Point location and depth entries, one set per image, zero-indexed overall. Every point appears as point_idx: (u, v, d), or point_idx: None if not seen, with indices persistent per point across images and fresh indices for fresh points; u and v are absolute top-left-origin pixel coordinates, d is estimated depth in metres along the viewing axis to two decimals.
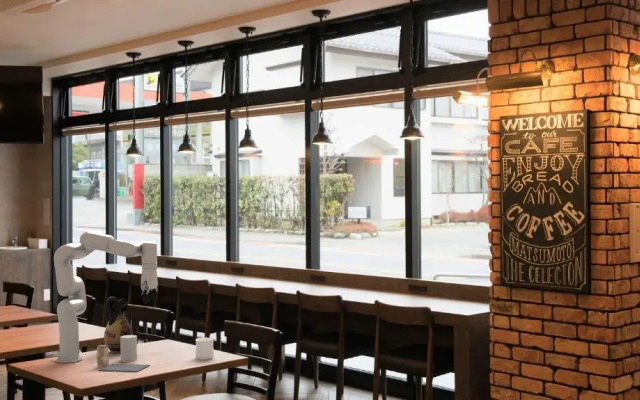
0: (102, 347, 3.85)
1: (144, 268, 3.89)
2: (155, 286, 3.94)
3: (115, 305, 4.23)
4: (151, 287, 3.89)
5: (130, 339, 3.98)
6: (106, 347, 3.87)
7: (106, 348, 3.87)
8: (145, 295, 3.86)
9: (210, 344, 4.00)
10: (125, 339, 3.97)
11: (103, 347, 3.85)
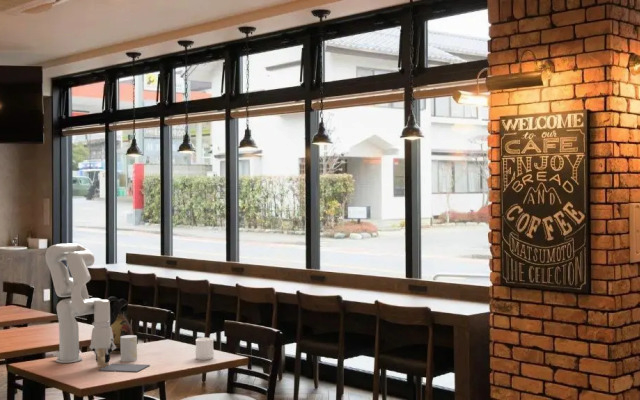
0: None
1: (107, 326, 3.85)
2: None
3: (115, 305, 4.23)
4: None
5: (130, 339, 3.98)
6: None
7: None
8: (109, 355, 3.87)
9: (210, 344, 4.00)
10: (125, 339, 3.97)
11: None
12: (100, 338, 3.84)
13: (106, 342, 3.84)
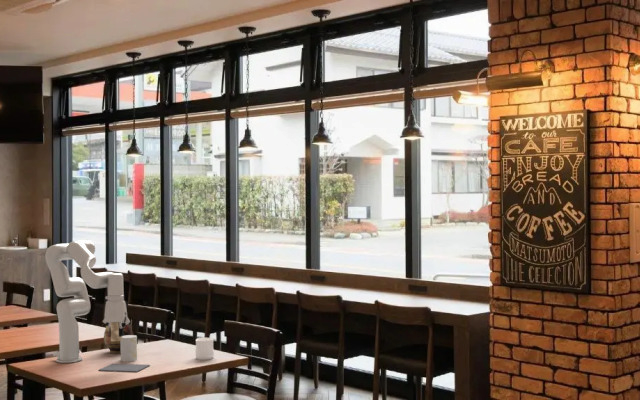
0: None
1: (121, 300, 3.80)
2: None
3: None
4: None
5: (130, 339, 3.98)
6: None
7: None
8: (122, 329, 3.82)
9: (210, 344, 4.00)
10: (125, 339, 3.97)
11: None
12: (114, 312, 3.79)
13: (120, 316, 3.79)
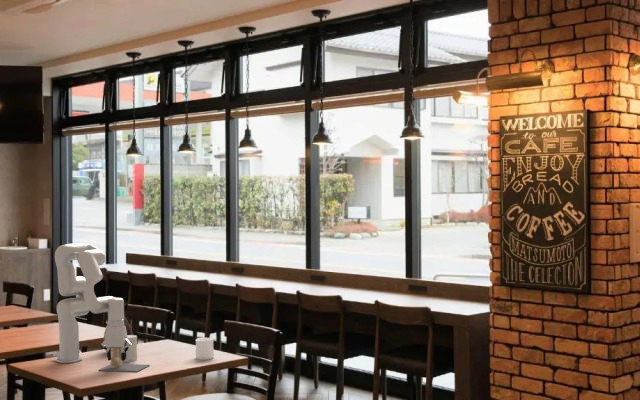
0: (116, 347, 3.80)
1: (121, 325, 3.80)
2: None
3: None
4: None
5: (130, 339, 3.98)
6: (120, 347, 3.82)
7: (120, 348, 3.82)
8: (125, 353, 3.81)
9: (210, 344, 4.00)
10: None
11: (117, 347, 3.80)
12: (114, 337, 3.79)
13: (120, 341, 3.79)
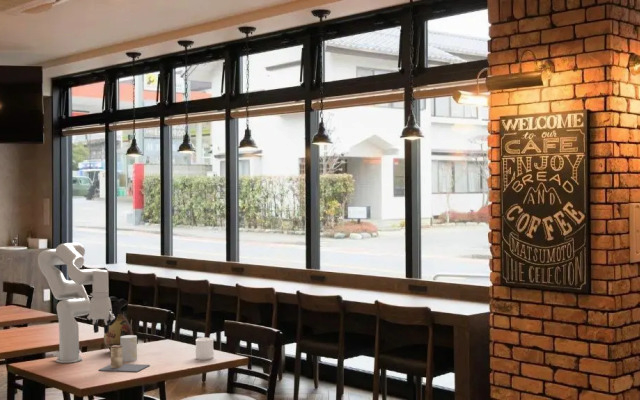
0: (116, 347, 3.80)
1: (106, 297, 3.82)
2: None
3: (115, 305, 4.23)
4: None
5: (130, 339, 3.98)
6: (120, 347, 3.82)
7: (120, 348, 3.82)
8: (108, 325, 3.83)
9: (210, 344, 4.00)
10: (125, 339, 3.97)
11: (117, 347, 3.80)
12: (98, 308, 3.81)
13: (104, 312, 3.80)
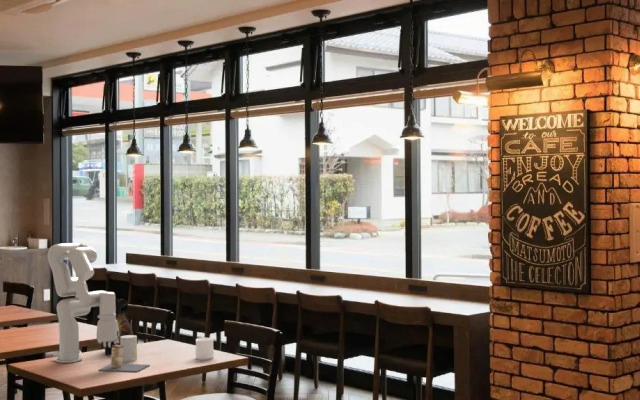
0: (117, 347, 3.80)
1: (113, 319, 3.81)
2: None
3: (115, 305, 4.23)
4: None
5: (130, 339, 3.98)
6: (121, 347, 3.82)
7: (121, 348, 3.82)
8: (111, 348, 3.83)
9: (210, 344, 4.00)
10: (125, 339, 3.97)
11: (118, 347, 3.80)
12: (106, 331, 3.80)
13: (112, 335, 3.80)
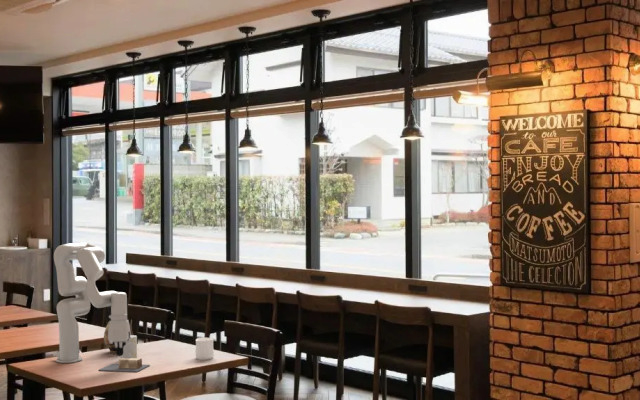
0: (137, 366, 3.78)
1: (124, 319, 3.80)
2: None
3: None
4: None
5: (130, 339, 3.98)
6: None
7: None
8: (122, 348, 3.82)
9: (210, 344, 4.00)
10: None
11: (137, 367, 3.78)
12: (117, 331, 3.79)
13: (123, 335, 3.78)
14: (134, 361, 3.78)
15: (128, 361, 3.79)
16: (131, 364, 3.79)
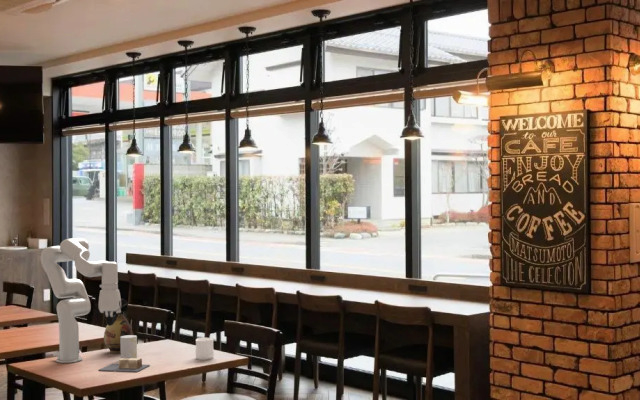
0: (137, 366, 3.78)
1: (115, 288, 3.81)
2: None
3: None
4: None
5: (130, 339, 3.98)
6: None
7: None
8: (113, 317, 3.83)
9: (210, 344, 4.00)
10: (125, 339, 3.97)
11: (137, 367, 3.78)
12: (108, 300, 3.80)
13: (114, 304, 3.79)
14: (134, 361, 3.78)
15: (128, 361, 3.79)
16: (131, 364, 3.79)
